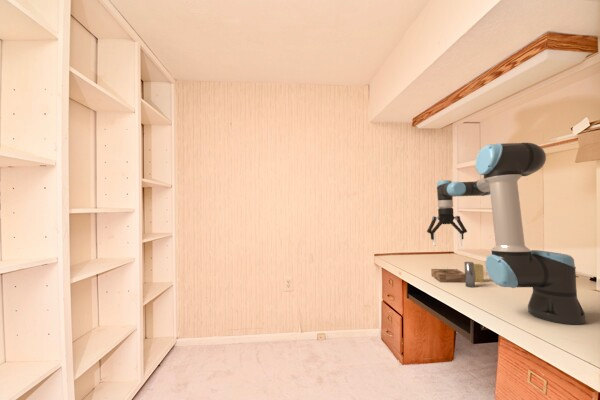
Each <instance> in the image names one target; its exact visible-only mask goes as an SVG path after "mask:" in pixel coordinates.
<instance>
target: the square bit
mask: <svg viewBox="0 0 600 400" xmlns="http://www.w3.org/2000/svg"><path fill="white" fill-rule="evenodd" d="M474 277H475V283H485V281H484V280H485V279H484V265H483V264H481V263H474Z"/></svg>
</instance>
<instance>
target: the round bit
mask: <svg viewBox="0 0 600 400" xmlns="http://www.w3.org/2000/svg"><path fill="white" fill-rule="evenodd" d="M474 264H475V263H474V262H473V261H464V273H465V287H467V288H471V289H472V288H473V289H474V288H475V287H476V284H475V283H476V282H475V277H474Z"/></svg>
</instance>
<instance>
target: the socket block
mask: <svg viewBox="0 0 600 400" xmlns="http://www.w3.org/2000/svg"><path fill="white" fill-rule="evenodd" d="M430 272H431V277H433V279H435V280H436V281H438V282H439V283H465V272H463V271H461V270H459V269H457V268H456V269H455V268H431V271H430ZM465 284H466V283H465Z"/></svg>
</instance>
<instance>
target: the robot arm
mask: <svg viewBox="0 0 600 400" xmlns="http://www.w3.org/2000/svg"><path fill="white" fill-rule="evenodd" d="M546 155H547V154H546V152H545V150H544V149H543V148H542V147H541V146H540V145H538V144H535V143H532V142H514V143H513V142H511V143H509V142H508V143H498V142H497V143H495V144H487V145H485V146H483V147H482V148H481V149H480V151H479V152H478V154H477V156H476V159H475V169H476V170H475V171H476V172H477V173H478V174H479V175H481V176H483V177H482V178H481V177H480V178H479V179H478V180H476V181H452V180H450V179H448V180H447V179H445V180H443V179H442V180H438V181H437V183H436V193H437V195H436V196H437V207H438V209H437V212H438V213H437V214H438V216H432V219H431V222H430V224H429V226H428V228H427V230H426V232H427V233H428V234H430V240H431V241H432V246H435V247H436V246H437V242H436V241H437V240H436V239H437V238H436V231H437V230H438V229H439V228H440V227H441V226H442V225H451V226H452V227H454V229H455V230H456V231H457V232H458V233H457V236H458V237H457V238H458V246H459V247H461V246H463V240H464V239H465V238H464V234H465V233H467V232H468V230H467V228H466V227H465V226H464V224H463V222H462V220H461V216H459V215H455V216H454V208H453V207H454V201H453V200H454V199H453V197H472V196H473V197H475V196H476V197H478V196H479V197H480V196H481V197H486V196H490V203H491V204H490V205H491V211H492V223H493V233H494V241H495V245H494V247H492V249H490V250H491V254H489V255H488V256H487V257H486V260H485V263H484V264H485V269H486V273H487V274H488V276H489V278H490V279H491V281H492V282H493V283H495V284H496V285H497V286H499V287H502V288H512V289H516V288H532V294H531V295H530V299H529V301H528V304H527V311H528V313H529V314H530V315H532V316H534V317H536V318H539V319H542V320H546V321H549V322H553V323H558V324H565V325H584V324H585V323H587V320H586V319H587V318H586V317H587V316H586V313H585V311H584V309H583V307H582V306H581V303H580V301H579V299H578V295H577V294H578V292H577V291H578V290H577V274H576V273H577V272H576V266H575V259H574V257H573V256H572V255H569V254H565V253H561V252H553V251H545V250H537V249H532V250H531V249H530V248H528V247H527V246H526V245H525V237H524V236H525V235H524V226H523V220H522V210H521V202H520V195H519V194H520V192H519V185H518V180H519V179H521V178H522V177H527V176H531V175H533V174H535V173H536V172H538V171H539V170H541V169H542V168H543V167H544V166H545V163H546V160H547V156H546ZM437 220H438V222H437ZM454 220H455V221H456V223H457V224H458V225H459V226H458V225H457V224H456V223H455V221H454ZM436 222H437V223H436ZM435 224H436V225H435ZM434 225H435V226H434Z"/></svg>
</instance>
